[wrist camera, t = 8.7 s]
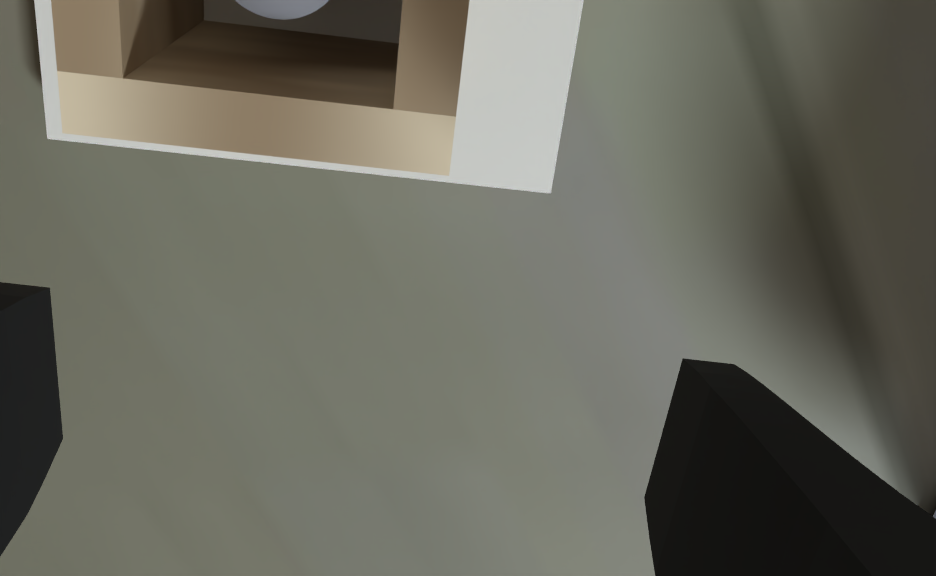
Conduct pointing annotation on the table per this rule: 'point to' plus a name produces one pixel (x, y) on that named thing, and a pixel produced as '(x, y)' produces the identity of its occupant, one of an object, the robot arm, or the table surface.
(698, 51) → the table surface
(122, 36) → the collar
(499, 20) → the pin block
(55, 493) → the table surface
